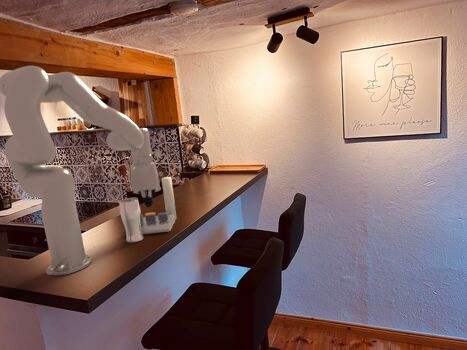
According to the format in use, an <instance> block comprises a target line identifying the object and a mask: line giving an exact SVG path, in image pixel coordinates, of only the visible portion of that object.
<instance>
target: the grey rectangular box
mask: <svg viewBox="0 0 467 350" xmlns="http://www.w3.org/2000/svg"><path fill="white" fill-rule="evenodd" d="M157 216H158V219H159V221H161V220H168V219H169V217H168V212H166V211H165V212H159V213H157Z"/></svg>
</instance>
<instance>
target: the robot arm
mask: <svg viewBox="0 0 467 350" xmlns="http://www.w3.org/2000/svg"><path fill="white" fill-rule="evenodd" d="M0 93H1V94H2V95H3V97H5V98H4V105H3V106H4V107H3V108H4V109H3V111H4V116H5V119H6V121H7V124H8V126H9V129H10V132H11V134H12V135H11V136H10V137H8V139H7V140H6V142H5V145H4V156H5V158H6V160H7V164H9V166H10V169H11V171H12V173H13V175H14V177H15V179H16V181H17V182H18V185H19V186H20V188H21V189H22V191H23V192H24V193H25V194H27V195H28V196H30V197H33V198H40V199H41V209H40V211H41V219H42V223H43V228H44V232H45V237H46V241H47V247H48V251H49V256H50V265H48V266H47V268H46V269H45V273H46V275H48V276H51V275H52V276H63V275H68V274H72V273H73V274H74V273H75V272H79V271H81V270H83V269H85V268H87V267H88V266H90V265H91V263H92V262H93V261H92V260H93V259H92V257H91V255H89V254H86V251H85V246H84V241H83V236H82V235H83V234H82V230H81V226H80V225H81V224H80V220H79V215H78V209H77V203H76V195H75V194H76V182H75V178H74V176H73V174H72V173H71V171H69V170H68V169H66V168H64V167H61V166H47V165H46V164H49V163H50V162H53V160H55V158H56V155H57V154H56V153H57V150H56V146H55V143H54V141H53V138H52V137H51V134H50V132H49V130H48V127H47V124H46V123H45V120H44V118H43V114H42V111H41V104H42V103H45V104H46V103H49V104H50V103H59V102H63V103H64V104H65V105H67V106H68V107H69V108H70V109H71V110H72V111H73V112H74V113H75V114H76V115H78V116H79V117H80V119H82V120H83V121H84V122H86V123H88V124H90V125H93V126H97V127H101V128H103V129H107V130H108V131H111V132H110V133H109V134H108V135H107V137H106V143H107V146H108V147H109V149H111V150H113V151H119V152H121V151H122V152H123V151H130V155H131V158H128V163H131V164H132V165H130V183H131V184H130V185H131V186H130V187H131V190H132V193H133V194H138V195H139V196H141V197H142V198H143V201H144V205H145V207H146V208H151V207H153V205H154V198H153V195H154V194H155V193H156V192H159V191H161V189H162V188H161V186H160V184H161V183H160V177H159V172H158V169H157V165H156V163H155V162H154V161H153V160H154V159H153V154H152V147H151V140H150V133H149V130H148V128H146V127H139V126H138V125H137V124H136V123H135V122H134V121H133V120H131V119H130V118H129V117H128V116H127V115H125V114H124V113H122V112H120V111H118V110H116V109H114V108H113V107H111V106H109V105H107V104H106V103H104V102H103V101H102V100H101V99H100V98H99V97H98V96H97V95H96V94H95V93H94V92H93V91H92V90H91V89H90V87H88V86H87V85H86V83H85V82H83V80H81V79H80V77H78V76H77V75H76V74H74V72H70V71H61V72H58V73H53V74H49V75H48V74H47V72H46V71H45V70H44V69H43V68H42V67H40V66H36V65H26V66H22V67H19V68H16V69H13V70H9V71H8V72H5V73H3V74H2V75H1V76H0ZM147 191H148V192H147ZM147 193H148V194H147Z"/></svg>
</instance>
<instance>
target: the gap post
mask: <svg viewBox="0 0 467 350" xmlns="http://www.w3.org/2000/svg"><path fill="white" fill-rule="evenodd" d="M161 185H162V193H163V198H164V206H165V207H164V208H165V213H166V212H168V215H174V217H175V220H177V212H176V203H175V197H174V196H175V195H174V189H173V188H174V187H173V181H172V176H165V177H161Z"/></svg>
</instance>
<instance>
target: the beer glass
mask: <svg viewBox="0 0 467 350" xmlns="http://www.w3.org/2000/svg"><path fill="white" fill-rule="evenodd" d="M118 203H119V213H120V216H121V217H120V218H121V221H122V223H123V225H124V226H123V227H124V229H125V232H126V233H125V234H126V240H125V241H126V242H127V243H137V242H139V241H142V240H143V239H144V234H142V232H141V215H142V213H141V207H140V202H139V198H138V197H128V198H124V199H121V200H119V202H118Z"/></svg>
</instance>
